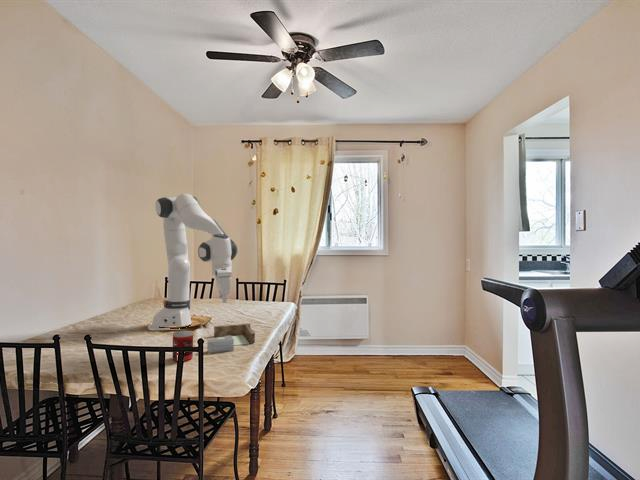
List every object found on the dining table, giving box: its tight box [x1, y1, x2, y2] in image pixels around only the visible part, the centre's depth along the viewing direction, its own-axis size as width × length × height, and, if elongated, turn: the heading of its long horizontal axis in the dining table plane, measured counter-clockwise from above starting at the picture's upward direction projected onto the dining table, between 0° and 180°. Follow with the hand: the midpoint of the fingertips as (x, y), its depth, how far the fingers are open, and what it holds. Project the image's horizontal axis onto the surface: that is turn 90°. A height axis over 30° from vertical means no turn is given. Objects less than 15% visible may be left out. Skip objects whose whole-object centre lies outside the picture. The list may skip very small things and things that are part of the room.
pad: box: [216, 334, 250, 346], centre depth 177 cm, size 13×14×1 cm
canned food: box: [172, 330, 194, 363], centre depth 151 cm, size 8×8×11 cm
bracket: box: [206, 335, 235, 354], centre depth 164 cm, size 11×7×5 cm, turn 113°
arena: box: [213, 323, 256, 345], centre depth 179 cm, size 18×18×5 cm
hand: (223, 300), depth 165 cm, fingers open, 8 cm apart
